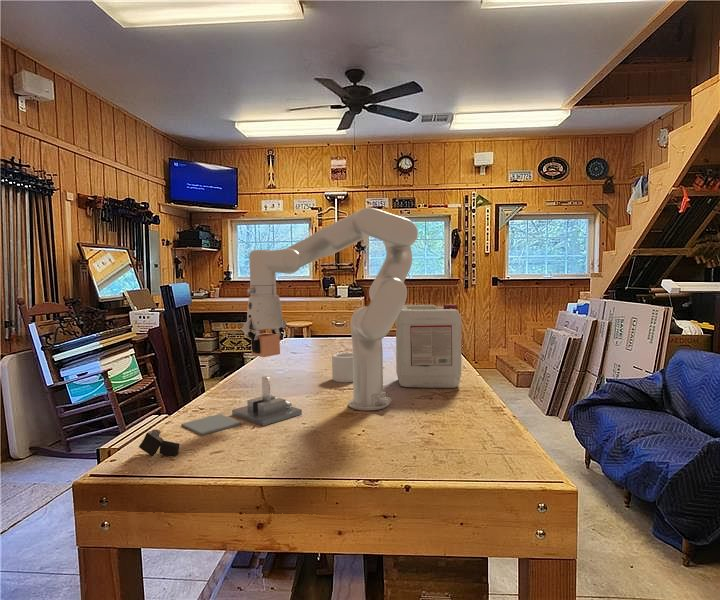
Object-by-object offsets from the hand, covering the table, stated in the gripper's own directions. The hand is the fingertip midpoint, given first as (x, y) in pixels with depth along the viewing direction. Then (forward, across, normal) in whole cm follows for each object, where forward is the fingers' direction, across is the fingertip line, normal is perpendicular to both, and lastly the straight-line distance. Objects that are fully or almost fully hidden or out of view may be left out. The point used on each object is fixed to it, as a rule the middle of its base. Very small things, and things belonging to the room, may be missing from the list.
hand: (265, 350), depth 139 cm
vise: (+20, 0, 0) cm, 20 cm away
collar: (+1, 0, 0) cm, 1 cm away
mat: (+19, -16, +4) cm, 26 cm away
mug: (+20, +48, +14) cm, 54 cm away
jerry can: (+20, +63, -15) cm, 68 cm away
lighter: (+20, -35, -6) cm, 41 cm away
